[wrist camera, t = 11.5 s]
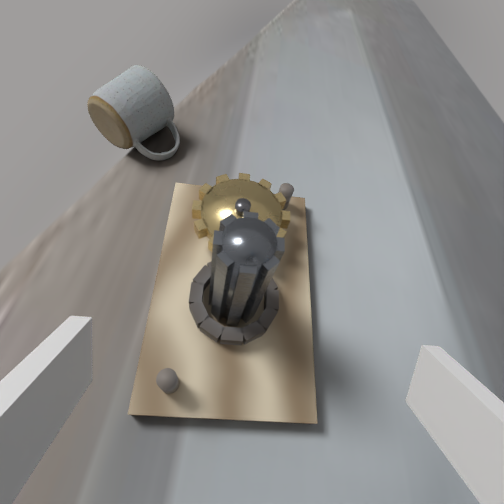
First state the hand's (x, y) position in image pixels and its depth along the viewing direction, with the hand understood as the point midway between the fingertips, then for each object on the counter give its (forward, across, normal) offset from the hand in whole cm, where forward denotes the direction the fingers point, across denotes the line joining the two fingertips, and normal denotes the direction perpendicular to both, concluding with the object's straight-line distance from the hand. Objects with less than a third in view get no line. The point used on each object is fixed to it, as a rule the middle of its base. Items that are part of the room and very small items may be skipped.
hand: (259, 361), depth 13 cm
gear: (+25, 0, 0) cm, 25 cm away
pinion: (+19, 0, -6) cm, 20 cm away
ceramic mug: (+36, -14, +9) cm, 40 cm away
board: (+21, 0, -6) cm, 22 cm away
